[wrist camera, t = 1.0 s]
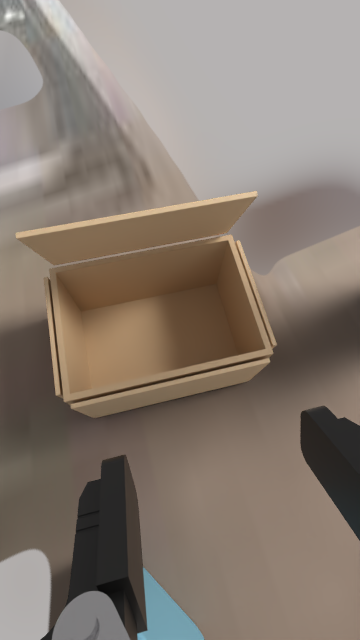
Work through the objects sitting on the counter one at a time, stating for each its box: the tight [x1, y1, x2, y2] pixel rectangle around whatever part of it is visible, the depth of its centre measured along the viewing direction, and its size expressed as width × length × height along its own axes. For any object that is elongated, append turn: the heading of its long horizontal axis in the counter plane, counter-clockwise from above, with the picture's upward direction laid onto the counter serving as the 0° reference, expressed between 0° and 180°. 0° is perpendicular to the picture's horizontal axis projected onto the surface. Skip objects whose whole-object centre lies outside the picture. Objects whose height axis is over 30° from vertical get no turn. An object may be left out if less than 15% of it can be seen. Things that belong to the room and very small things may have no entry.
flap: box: [15, 191, 257, 265], centre depth 30 cm, size 19×1×10 cm, turn 103°
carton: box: [44, 235, 277, 418], centre depth 38 cm, size 21×15×11 cm
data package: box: [137, 567, 204, 640], centre depth 28 cm, size 12×4×12 cm, turn 48°
